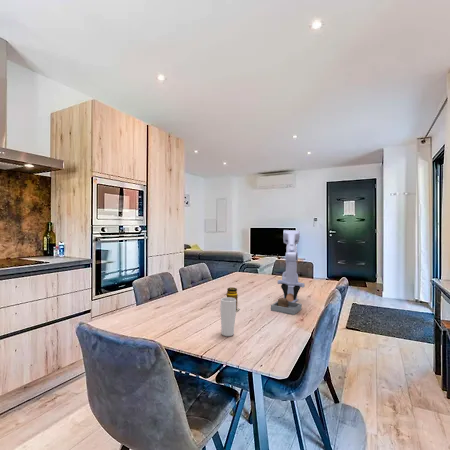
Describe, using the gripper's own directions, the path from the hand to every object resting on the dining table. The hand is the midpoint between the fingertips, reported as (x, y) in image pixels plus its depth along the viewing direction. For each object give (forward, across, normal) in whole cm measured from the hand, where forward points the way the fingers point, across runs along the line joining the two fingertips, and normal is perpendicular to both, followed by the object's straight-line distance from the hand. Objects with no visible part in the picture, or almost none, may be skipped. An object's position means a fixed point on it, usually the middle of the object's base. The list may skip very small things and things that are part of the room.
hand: (290, 298), depth 154 cm
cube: (+7, -6, +5) cm, 10 cm away
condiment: (+8, -28, -16) cm, 33 cm away
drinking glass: (+8, -11, -46) cm, 48 cm away
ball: (+2, 0, 0) cm, 2 cm away
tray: (+7, -3, +2) cm, 8 cm away
